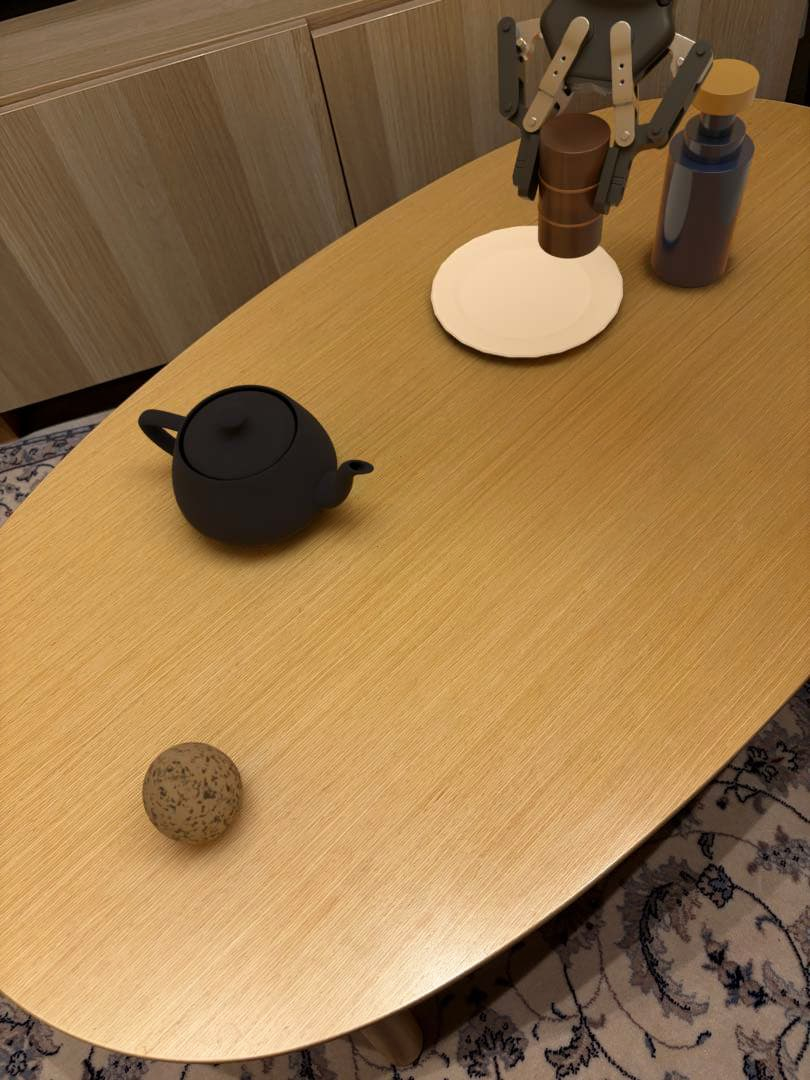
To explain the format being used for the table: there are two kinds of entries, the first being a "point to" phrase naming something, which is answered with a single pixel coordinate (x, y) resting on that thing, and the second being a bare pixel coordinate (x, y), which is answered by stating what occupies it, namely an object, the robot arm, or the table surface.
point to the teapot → (251, 465)
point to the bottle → (706, 179)
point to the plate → (524, 295)
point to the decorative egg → (192, 792)
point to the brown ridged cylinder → (571, 183)
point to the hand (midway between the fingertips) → (563, 204)
